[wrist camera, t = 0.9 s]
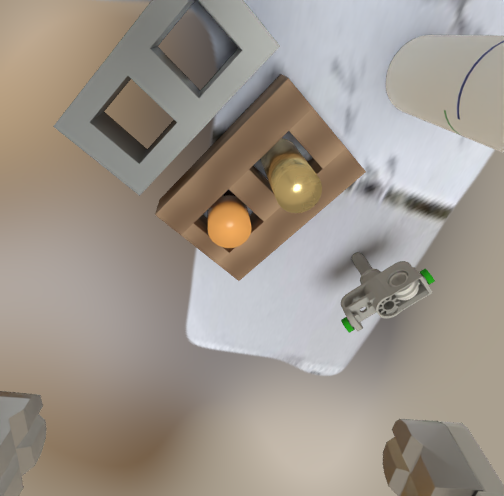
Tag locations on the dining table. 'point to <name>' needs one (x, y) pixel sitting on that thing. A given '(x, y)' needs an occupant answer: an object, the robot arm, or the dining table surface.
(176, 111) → the rack
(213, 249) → the socket base
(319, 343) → the dining table surface
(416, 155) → the dining table surface
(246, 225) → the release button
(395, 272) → the mechanical component
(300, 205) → the gold metal peg
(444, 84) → the cylindrical container
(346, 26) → the dining table surface
